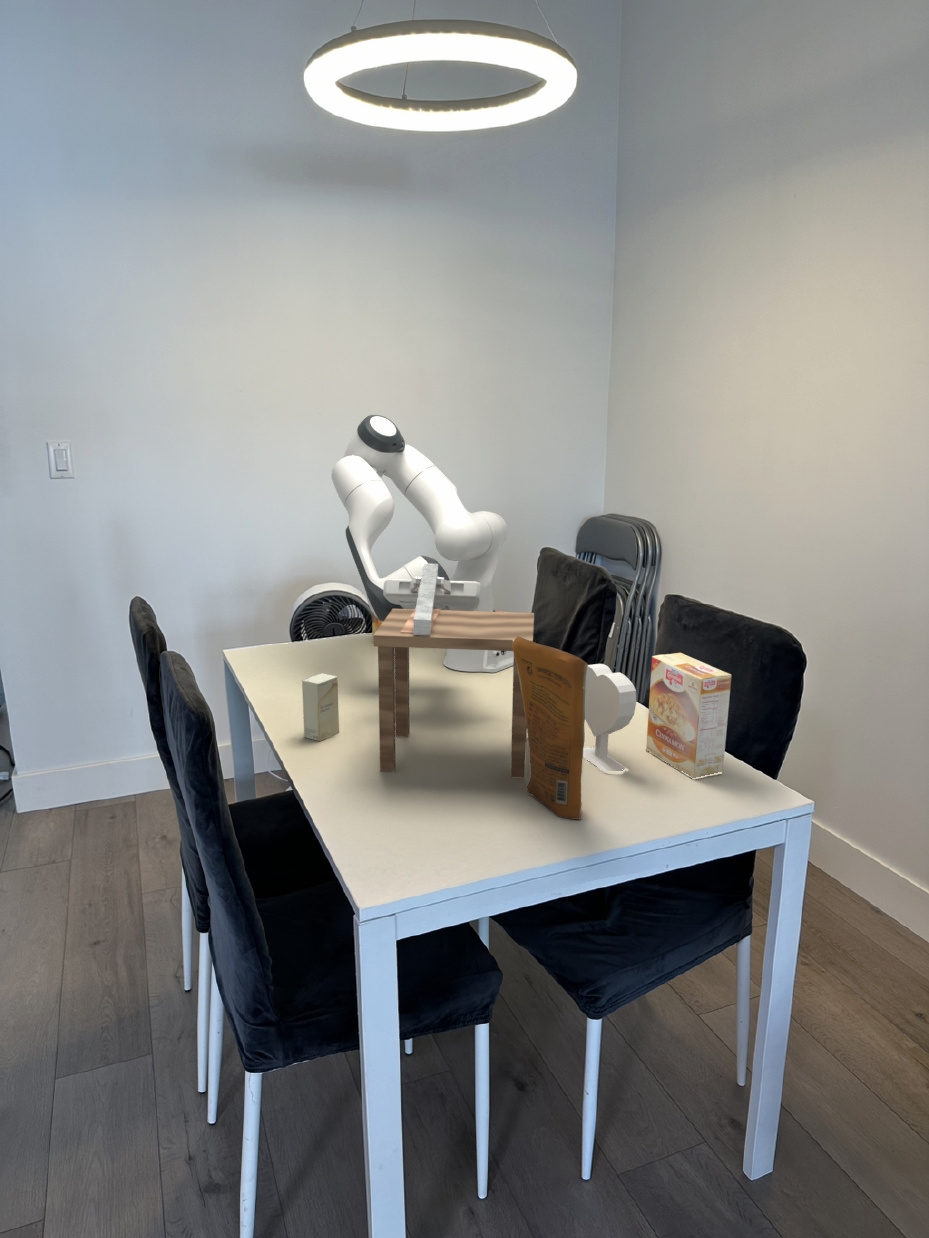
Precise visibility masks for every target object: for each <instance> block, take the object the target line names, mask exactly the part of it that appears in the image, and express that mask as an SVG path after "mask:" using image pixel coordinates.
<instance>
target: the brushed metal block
mask: <svg viewBox="0 0 929 1238" xmlns="http://www.w3.org/2000/svg"><path fill="white" fill-rule="evenodd" d="M437 577H438V564H430V563H424V566H423V571H422V577H421V582H420V588H419V593H418V599H417V604H416V609H415V615H414V624H413V635H417V636H430V634H431V626H432V618H433V611H434V603H435V595H436V587H437V586H436V582H437V580H436V579H437Z"/></svg>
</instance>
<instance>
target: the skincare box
mask: <svg viewBox="0 0 929 1238" xmlns="http://www.w3.org/2000/svg"><path fill="white" fill-rule="evenodd" d="M301 686H302V709H303V710H302V714H303V715H302V716H303V718H302V719H303V737H304V738H307V739H310V740H314V741H318V742H322V741H324V740H326V739H328V738H329V737H332V736H335V735H337V734H339V733H340V718H339V689H338V687H339V684H338V676H337V675H333V674H329V673H323V672H322V673H318V674H316V675H313V676H310V677H308V678H305V679H302V680H301Z"/></svg>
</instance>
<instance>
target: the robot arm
mask: <svg viewBox="0 0 929 1238" xmlns="http://www.w3.org/2000/svg"><path fill="white" fill-rule="evenodd" d="M383 476H385V477H386V478H389V479H390V480H391V481H392V483H393V484H394V485H395V487H396V488H397V489H398V490H399V492H400V493H401V494H402V495H403V496H404V497H405V498H406V499H407V500H408V502H410V504H412V506H414V508H415V509H416V510H417V511H418V512H419V514H420V515H421V516H422V517H423V518H424V520H425V521H426V522H427V523H428V525H429V527H430V529H431V531H432V533H433V535H434V543H435V544H434V545H435V548H436V551H437V552H438V554H439V555H440V556H442V557H443V558H444V559H446V560H448V561H452V562H457V564H456V567H455V569H454V570H455V571H454V572H453V574H452V576H451V579H450V577H449V575H448V574H447V572H446V570H445V569H444V567H443V566H442V565H441V564H440V563H439V561H437V559H435V558H432V557H429V556H426V555H419V556H417V557H415V558H414V559H413V560H411V561H409V562H407V563H406V564H404V565H403V566H401V567H400V568H398V569H396V570H395V571H393V572H391V573H390V574H388V575H386V576H385V577H380V576H379V574H378V572H377V571H378V570H377V569H376V566H375V564H374V561H373V558H372V555H371V554H372V547H373V546H374V545H375V543H376V541H377V539H378V538H379V537H380V536H381V534H383V532H384V531H385V530H386V528H387V527H388V526H389V525H390V523H391V521H392V519H393V516H394V512H395V507H396V506H395V500H394V498H393V496H392V493H391V491H390V490H389V488H388V487H387V484H386V483H385V482H384V480H383V479H382V477H383ZM331 480H332V483H333V485H334V489H335V491H336V493H337V495H338V496H337V497H339V500H340V501H341V503H342V504H343V507H344V508H345V509H346V512H347V515H348V525H347V527H346V528H345V538H346V541H347V544H348V546H349V550H350V553H351V556H352V559H353V560H354V563H355V566H356V569H357V571H358V574H359V576H360V579H361V582H362V584H363V587H364V590H365V593H366V598H367V603H368V606H369V608H370V611H371V613H372V612H373V614H374V615H375V616H376V618H378V619H379V621H382V622H383V621H384V620H385V619H386V617H387V616H388V615H389V613H390V612H391V610H392V609H415V608H416V604H417V599H418V593H419V588H420V582H421V577H422V571H423V566H424V563H430V564H438V577H437V579H436V580H437V582H436V586H437V587H436V595H435V603H434V609H440V610H452V611H484V612H502V611H501V610H497V611H496V610H494V591H495V590H494V588H495V587H494V586H495V580H496V579H495V578H496V574H497V568H498V565H499V564H498V563H499V561H500V560H499V559H500V555H501V551H502V548H503V545H504V543H505V541H506V540H507V537H508V526H507V523H506V521H505V519H504V518H503V516H501V515H499V514H498V513H496V512H491V511H488V510H480V511H476V512H475V511H474V512H470V511H469V510H468V509H466V507H465V505H464V504H463V503H462V501H461V499H460V497H459V491H458V488H457V486H456V485H455V484H454V483H453V482H452V481H451V480H450V479H449V478H448V477H447V476H446V475H445V474H444V473H443V471H442V470H440V468H438V466H436V465H435V463H433V461H431V460H430V459H429V458H428V457H427V456H425V455H424V454H423V453H422V452H420V451H419V450H418V449H416V448H415V447H413V446H412V445H409V444H406V441H405V439H404V437H403V435H402V433H401V432H400V430H399V428H398V427H397V426H396V424H395V423H394V422H393V421H392V420H391V419H389V418H387V416H383V415H379V414H370V415H368V416H366V417H365V418H364V419H363V420H362V421H361V422H360V423H359V424H358V426H357V429H356V431H355V432H354V433H353V435H352V437H351V439H350V440H349V442H348V445H347V446H346V450H345V452H344V455H343V457H342V458H341V459H339V460H338V461H337V462H336V463H335V464H334V466H333V467H332V470H331ZM513 664H514V654H513V651H496V650H467V649H446V651H445V655H444V660H443V666H445V667H446V668H449V669H451V670H455V671H461V672H476V673H477V672H480V673H481V672H483V673H497V672H500V671H502V670H504V669H507V668H510V667H512V666H513Z"/></svg>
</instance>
